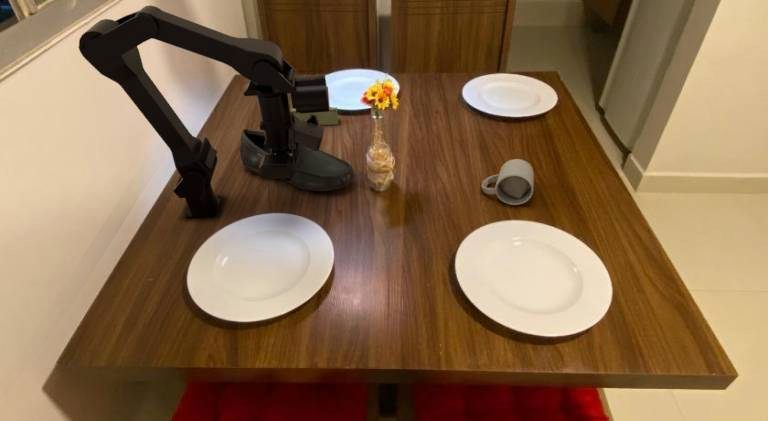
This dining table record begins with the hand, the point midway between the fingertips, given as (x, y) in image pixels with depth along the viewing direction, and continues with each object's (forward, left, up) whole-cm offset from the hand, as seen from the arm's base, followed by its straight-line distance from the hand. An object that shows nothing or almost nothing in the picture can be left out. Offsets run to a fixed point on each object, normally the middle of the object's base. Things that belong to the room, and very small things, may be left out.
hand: (288, 180), depth 93 cm
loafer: (+9, 0, -6) cm, 11 cm away
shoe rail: (+34, 0, -6) cm, 34 cm away
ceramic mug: (-1, -47, -6) cm, 47 cm away
